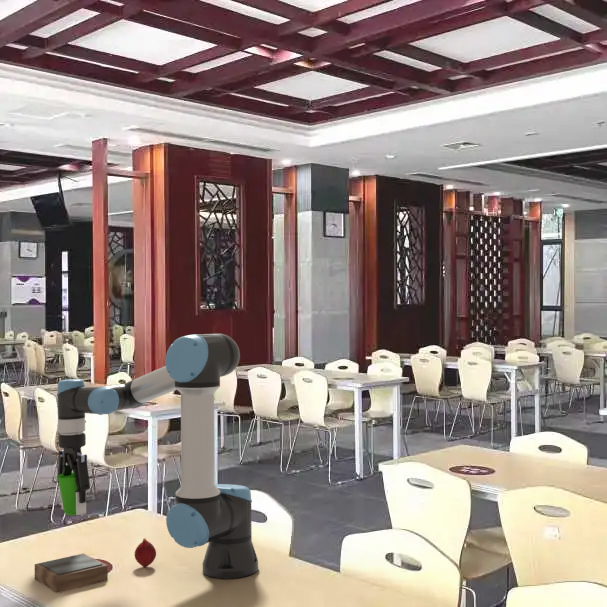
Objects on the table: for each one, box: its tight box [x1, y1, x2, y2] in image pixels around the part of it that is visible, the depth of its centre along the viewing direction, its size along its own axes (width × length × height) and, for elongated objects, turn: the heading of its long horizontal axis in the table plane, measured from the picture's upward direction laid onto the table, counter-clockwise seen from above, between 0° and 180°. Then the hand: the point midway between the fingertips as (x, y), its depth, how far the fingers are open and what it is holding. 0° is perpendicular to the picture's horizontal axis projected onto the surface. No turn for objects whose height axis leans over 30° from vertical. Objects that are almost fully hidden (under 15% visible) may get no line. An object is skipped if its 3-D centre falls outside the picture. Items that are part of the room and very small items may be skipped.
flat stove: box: [34, 553, 109, 594], centre depth 218 cm, size 14×14×4 cm
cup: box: [56, 471, 90, 516], centre depth 237 cm, size 9×9×11 cm
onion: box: [134, 537, 157, 568], centre depth 228 cm, size 6×6×8 cm
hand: (73, 511), depth 237 cm, fingers closed on cup, 9 cm apart
